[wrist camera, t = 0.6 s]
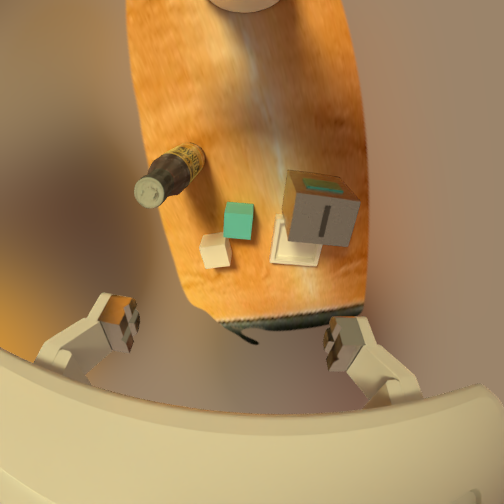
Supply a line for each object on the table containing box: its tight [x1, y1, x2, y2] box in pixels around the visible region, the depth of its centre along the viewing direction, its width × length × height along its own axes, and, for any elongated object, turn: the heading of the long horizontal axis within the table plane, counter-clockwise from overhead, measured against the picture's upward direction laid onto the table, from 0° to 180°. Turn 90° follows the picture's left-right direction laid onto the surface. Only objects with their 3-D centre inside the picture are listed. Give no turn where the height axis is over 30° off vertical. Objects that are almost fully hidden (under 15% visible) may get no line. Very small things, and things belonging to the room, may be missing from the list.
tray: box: [269, 214, 322, 266], centre depth 54 cm, size 10×10×2 cm
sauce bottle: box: [134, 143, 205, 208], centre depth 38 cm, size 7×6×20 cm
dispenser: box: [282, 170, 361, 247], centre depth 45 cm, size 8×10×12 cm
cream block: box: [199, 232, 232, 269], centre depth 54 cm, size 5×5×5 cm
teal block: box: [223, 202, 253, 240], centre depth 51 cm, size 5×5×5 cm
